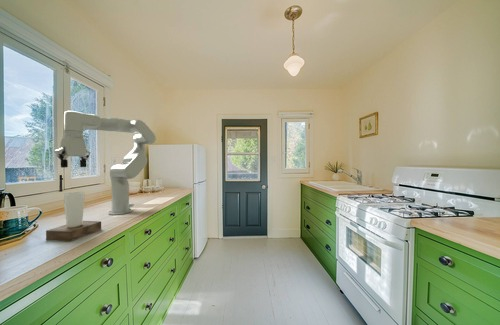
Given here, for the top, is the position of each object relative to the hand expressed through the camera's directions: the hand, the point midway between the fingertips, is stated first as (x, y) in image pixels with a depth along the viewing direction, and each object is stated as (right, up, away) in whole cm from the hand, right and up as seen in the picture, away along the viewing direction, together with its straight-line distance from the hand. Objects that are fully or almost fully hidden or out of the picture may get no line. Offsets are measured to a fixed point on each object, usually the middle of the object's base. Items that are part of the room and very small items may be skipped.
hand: (74, 167), depth 102 cm
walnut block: (+14, -30, -15) cm, 37 cm away
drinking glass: (+15, -26, -16) cm, 34 cm away
